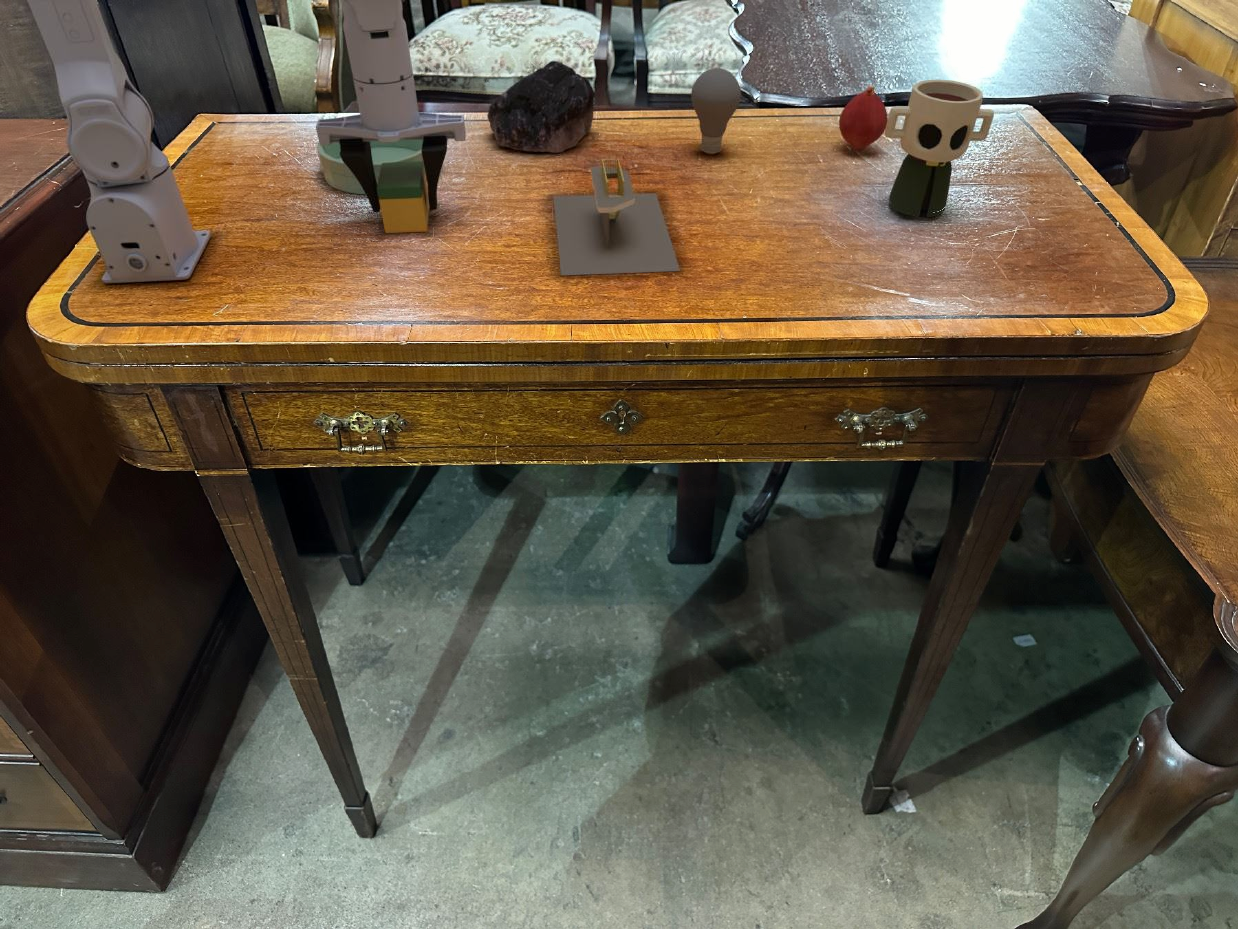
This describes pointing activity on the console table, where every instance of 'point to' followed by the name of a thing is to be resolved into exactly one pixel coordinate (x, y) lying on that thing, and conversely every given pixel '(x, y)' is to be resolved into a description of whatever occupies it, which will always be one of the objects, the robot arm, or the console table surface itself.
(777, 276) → the console table surface
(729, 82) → the light bulb
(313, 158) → the console table surface
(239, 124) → the console table surface
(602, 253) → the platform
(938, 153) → the character mug
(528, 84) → the dark rough boulder
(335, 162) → the bowl
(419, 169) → the sponge
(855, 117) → the onion
